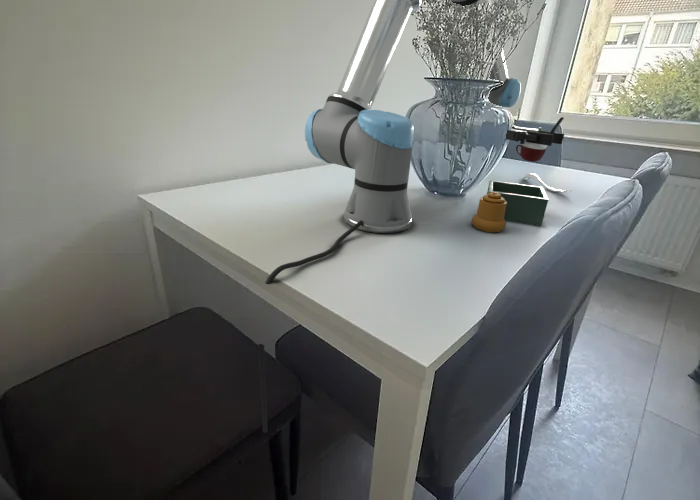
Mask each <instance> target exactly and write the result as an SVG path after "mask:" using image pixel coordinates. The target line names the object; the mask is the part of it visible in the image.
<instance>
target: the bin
mask: <svg viewBox="0 0 700 500" xmlns="http://www.w3.org/2000/svg"><path fill="white" fill-rule="evenodd" d="M490 192H495V193H499V194H501V197H503V198H504V199H505V201H506V202H507V204H506V210H505V215H504V219H505V221H506V222H510V223H511V222H512V223H516V224H524V225H530V226H537V227H542V224H543V221H544V217H545V213H546V212H547V211H546V210H547V207H548V203H549V197H548V195H547V193H546V190H545V187H544V186H539V185H529V184H522V183H515V182H506V181H498V180H491V179H489V182H488V186H487V191H486V195H488V193H490Z"/></svg>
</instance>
